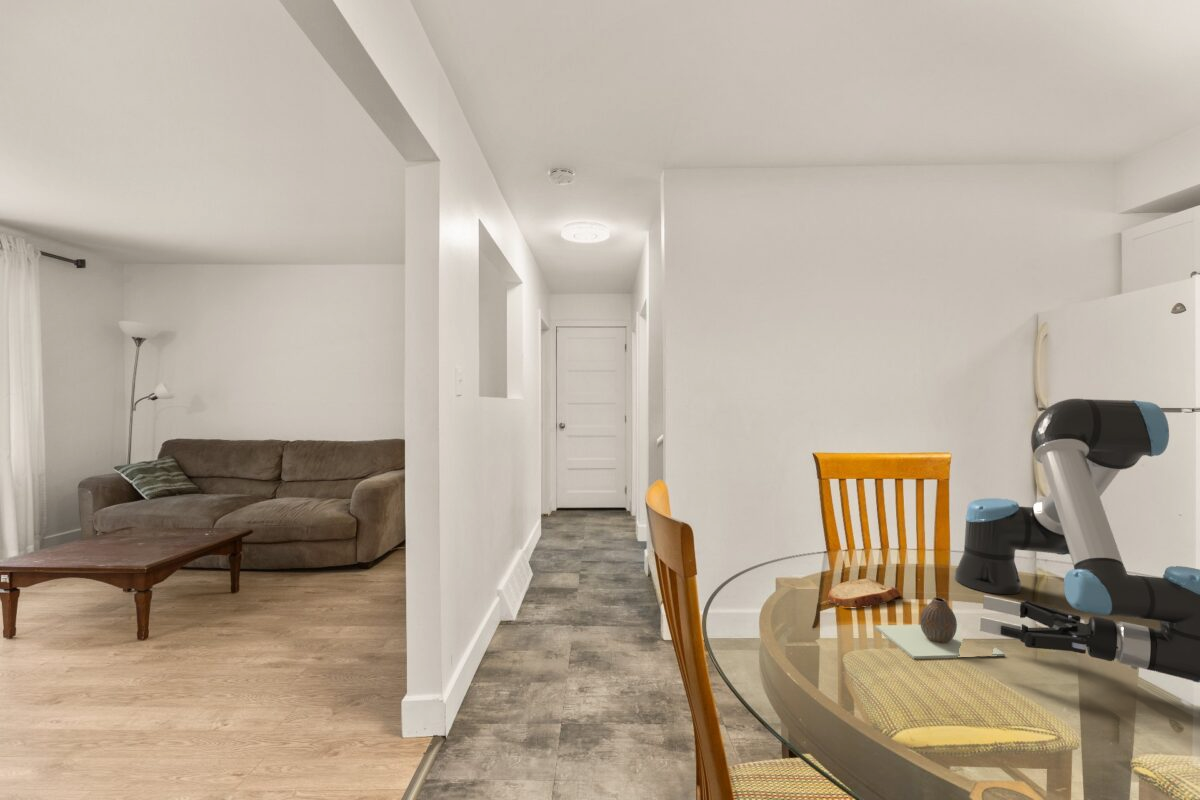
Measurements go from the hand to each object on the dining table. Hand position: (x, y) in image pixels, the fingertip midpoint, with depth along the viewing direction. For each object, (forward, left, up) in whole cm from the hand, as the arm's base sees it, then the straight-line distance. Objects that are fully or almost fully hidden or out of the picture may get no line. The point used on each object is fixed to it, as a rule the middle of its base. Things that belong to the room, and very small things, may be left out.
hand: (981, 612), depth 125 cm
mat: (+6, -5, -9) cm, 12 cm away
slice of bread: (+9, -29, -9) cm, 32 cm away
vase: (+6, -5, -8) cm, 11 cm away
